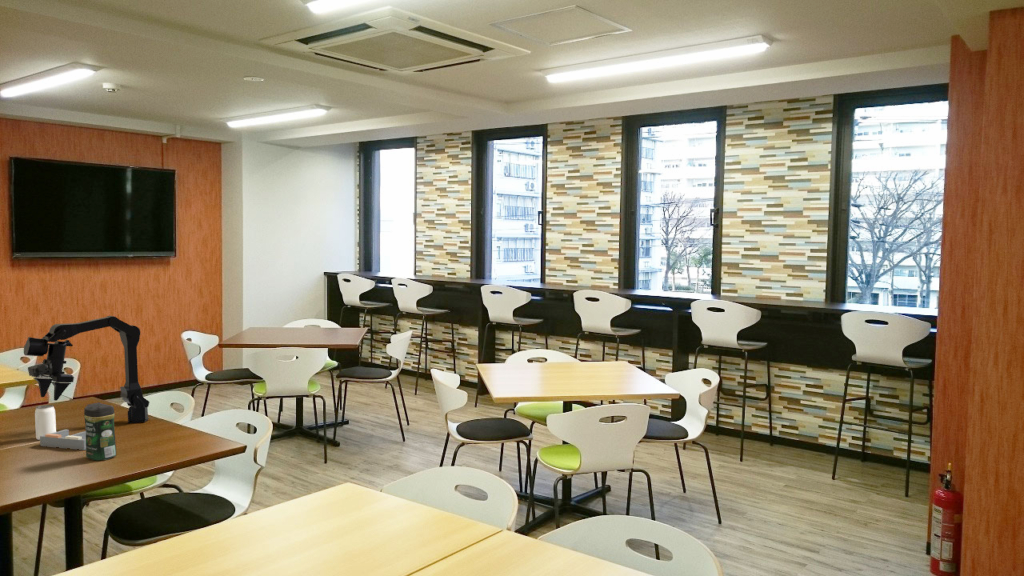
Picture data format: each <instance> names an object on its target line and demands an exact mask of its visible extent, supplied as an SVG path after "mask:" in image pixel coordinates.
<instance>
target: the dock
mask: <svg viewBox="0 0 1024 576" xmlns="http://www.w3.org/2000/svg"><path fill="white" fill-rule="evenodd" d="M39 444H40V445H39V446H40V447H46V446H47V447H48V448H56V447H59V448H58V449H67V448H70V449H69V450H77V449H79V450H80V451H86V430H84V431H80V432H77V433H73V434H70V430H69V429H61V430H59V431H56V432H54V433H50V434H46V435H43V436H40V440H39ZM79 450H78V451H79Z"/></svg>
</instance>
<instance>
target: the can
mask: <svg viewBox="0 0 1024 576" xmlns="http://www.w3.org/2000/svg"><path fill="white" fill-rule="evenodd" d="M56 419H57V418H56V409H55V407H54V405H53V404H44V405H38V406H36V407H35V411H34V421H35V422H34V424H35V438H36V440H37V441H40V436H43V435H46V434H50V433H54V432H57V422H56Z"/></svg>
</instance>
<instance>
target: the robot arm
mask: <svg viewBox="0 0 1024 576" xmlns="http://www.w3.org/2000/svg"><path fill="white" fill-rule="evenodd" d="M109 327H110V328H112V329H113V330H114V331H116V332H117V333H118V334H119V337H120V341H121V344H122V346H123V352H124V353H123V354H124V372H125V378H124V379H125V383H124V386H120V388H119V389H120V396H119V397H121V398H122V401H123V402H124V403H126V404H127V406H128V411H127V424H138V422H144V423H146V422H147V421H149V420H150V419H149V418H150V417H149V411H148V408H149V405H150V401H149V400H148V399H146V398H145V397H144V394H143V389H142V388H141V385H140V382H139V373H138V372H139V371H138V370H139V369H138V348H137V347H138V345H139V342H140V338H141V329H140V328H139V327H138V326H136V325H132V324H129V323H128V322H125V321H123V320H121V319H120V318H118V317H117V316H115V315H108V316H104V317H100V318H95V319H90V320H89V319H88V320H87V321H81V322H74V323H69V322H68V323H55V324H53V325H52V326H50V328H49V331H48V332H47V333H46V334H45V335H44V336H42V338H37V337H30V336H29V337H27V340H26V342H25V344H24V346H23V355H24V356H26V357H27V356H28V357H44V355H46V358H44V359H43V360H42V363H37V364H34V365H31V366H27V372H28V376H29V377H30V376H31V377H33V380H35V381H36V382H37V384H38V387H39V388H38V389H39V393H40V397H41V398H45V397H46V395H47V393H48V391H49V389H50V387H51V384H52V385H53V387H54V388H53V401H58V400H59V399H60V398H61V396H62V394H63V393H64V392H65V390H66V389H67V388H68V387H69V386H70V385H71V384H72V383H74V380H75V377H74V376H73V375H72V374H69V373H65V371H63V369H64V365H65V364H67V361H66V360H65V358H66V351H67V347H74V344H73V343H72V342H71V341H70V340H69V339H70V338H72V337H75V336H76V335H79V334H81V333H86V332H90V331H94V330H100V329H104V328H109ZM148 419H149V420H148ZM145 421H146V422H145Z"/></svg>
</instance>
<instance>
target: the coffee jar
mask: <svg viewBox="0 0 1024 576" xmlns="http://www.w3.org/2000/svg"><path fill="white" fill-rule="evenodd" d="M115 415H116V414H115V407H114V406H113V405H111V404H106V403H105V404H104V403H101V402H94V403H89V404H88V403H87V405H85V407H84V410H83V417H84V425H85V426H84V427H85V431H86V450H85V457H86V458H87V459H89V460H93V461H95V462H96V461H106V460H110V459H112V458H114V457H116V456H117V446H116V445H117V444H116V432H115V431H116V430H115Z"/></svg>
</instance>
